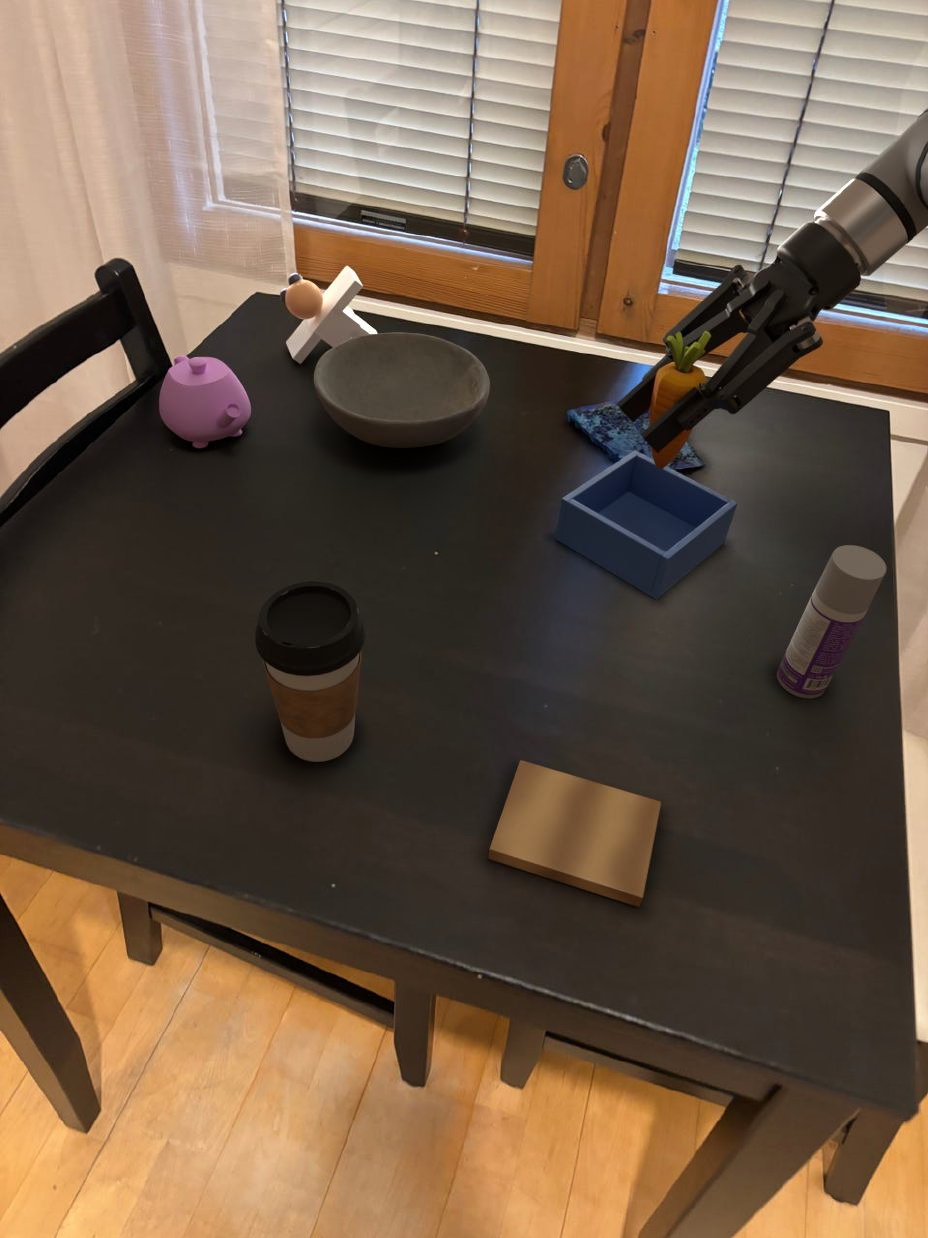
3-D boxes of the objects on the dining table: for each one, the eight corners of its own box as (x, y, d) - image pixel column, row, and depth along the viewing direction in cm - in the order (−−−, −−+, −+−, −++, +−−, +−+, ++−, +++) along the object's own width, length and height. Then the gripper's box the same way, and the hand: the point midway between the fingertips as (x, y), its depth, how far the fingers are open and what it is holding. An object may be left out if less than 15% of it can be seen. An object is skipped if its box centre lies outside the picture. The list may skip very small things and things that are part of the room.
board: (657, 812, 73) (661, 801, 72) (639, 907, 67) (643, 898, 66) (518, 770, 75) (520, 759, 74) (487, 859, 69) (489, 849, 68)
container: (829, 672, 85) (890, 554, 75) (822, 705, 82) (885, 587, 72) (781, 656, 87) (835, 537, 76) (772, 688, 84) (827, 569, 73)
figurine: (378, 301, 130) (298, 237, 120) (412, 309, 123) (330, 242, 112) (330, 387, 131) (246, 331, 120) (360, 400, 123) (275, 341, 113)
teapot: (222, 394, 115) (211, 326, 109) (280, 448, 107) (273, 378, 101) (146, 417, 110) (130, 348, 104) (201, 476, 102) (188, 405, 96)
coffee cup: (252, 757, 74) (230, 633, 64) (297, 687, 80) (283, 562, 70) (344, 787, 73) (336, 664, 62) (383, 712, 79) (381, 589, 68)
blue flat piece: (660, 399, 120) (662, 386, 119) (717, 472, 109) (721, 459, 108) (559, 411, 117) (560, 398, 116) (607, 487, 106) (610, 474, 104)
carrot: (630, 474, 90) (660, 336, 80) (642, 450, 94) (673, 315, 83) (677, 487, 89) (715, 349, 79) (688, 462, 92) (725, 327, 82)
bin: (724, 542, 99) (738, 502, 95) (656, 600, 92) (668, 559, 88) (626, 489, 105) (635, 449, 101) (554, 538, 98) (561, 498, 94)
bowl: (485, 391, 119) (490, 336, 114) (485, 482, 105) (490, 424, 99) (329, 382, 119) (326, 326, 113) (306, 472, 104) (301, 412, 98)
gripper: (913, 319, 76) (697, 500, 83) (798, 239, 88) (618, 402, 95) (885, 262, 71) (658, 459, 78) (767, 185, 83) (580, 362, 90)
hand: (637, 427), depth 87 cm, fingers closed on carrot, 5 cm apart
